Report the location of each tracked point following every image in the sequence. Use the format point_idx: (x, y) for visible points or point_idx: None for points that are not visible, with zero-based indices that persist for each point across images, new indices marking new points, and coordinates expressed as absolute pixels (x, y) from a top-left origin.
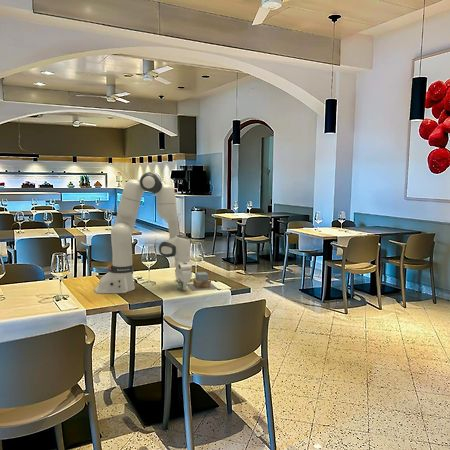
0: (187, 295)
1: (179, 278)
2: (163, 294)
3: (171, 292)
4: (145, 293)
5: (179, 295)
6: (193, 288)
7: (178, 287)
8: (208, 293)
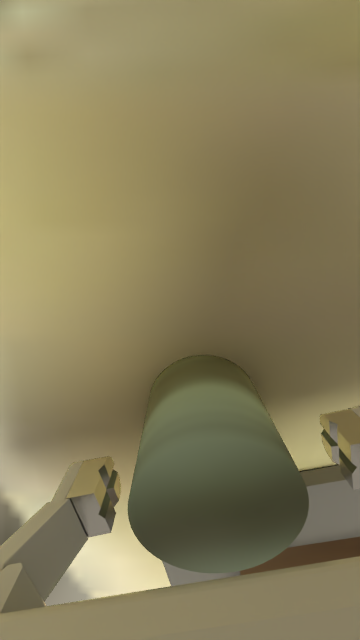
0: (26, 455)
1: (234, 609)
2: (29, 152)
3: (145, 277)
4: None
5: (12, 376)
6: None
7: (164, 401)
8: None
